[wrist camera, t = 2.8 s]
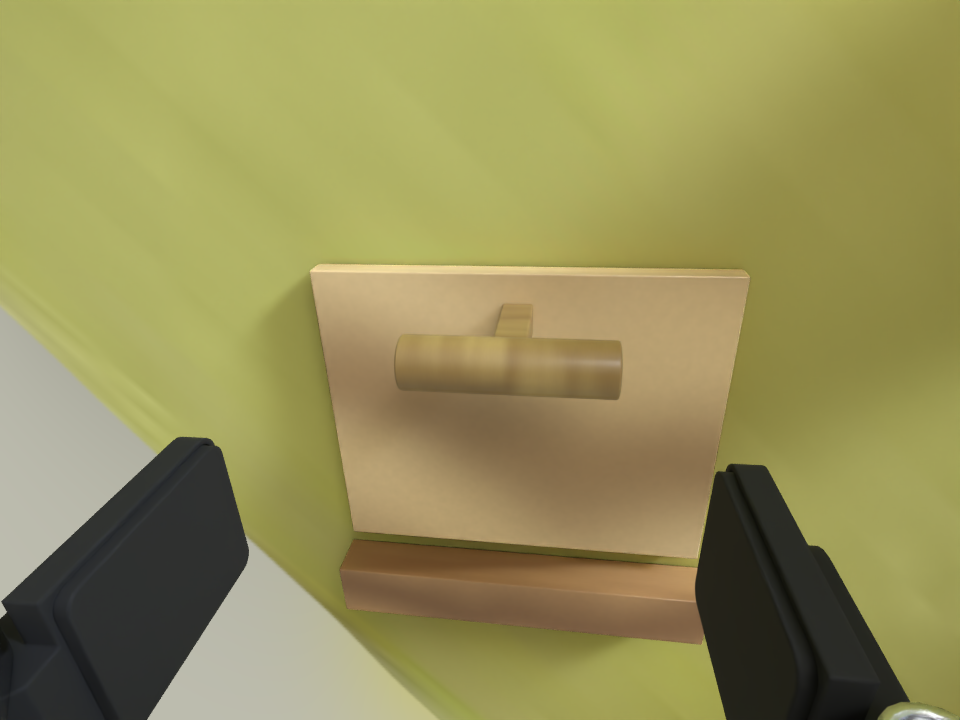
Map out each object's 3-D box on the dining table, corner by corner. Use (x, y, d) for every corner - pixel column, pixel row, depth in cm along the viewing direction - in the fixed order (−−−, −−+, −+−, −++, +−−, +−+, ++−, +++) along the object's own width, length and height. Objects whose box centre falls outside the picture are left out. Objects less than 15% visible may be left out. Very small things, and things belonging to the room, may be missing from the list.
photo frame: (318, 262, 20) (242, 320, 15) (743, 268, 18) (803, 335, 13) (359, 517, 25) (313, 617, 20) (693, 543, 23) (723, 660, 18)
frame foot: (353, 538, 26) (338, 569, 24) (701, 567, 24) (711, 603, 22) (359, 577, 27) (346, 609, 25) (693, 608, 25) (702, 645, 23)
